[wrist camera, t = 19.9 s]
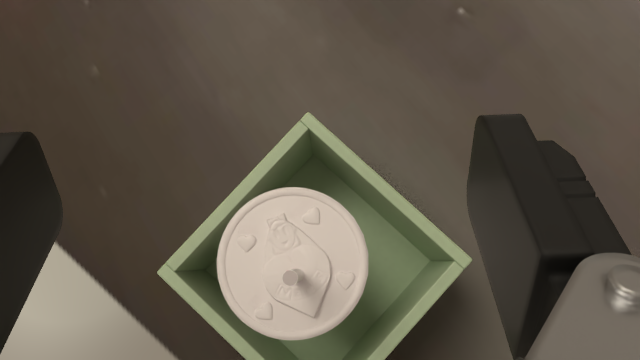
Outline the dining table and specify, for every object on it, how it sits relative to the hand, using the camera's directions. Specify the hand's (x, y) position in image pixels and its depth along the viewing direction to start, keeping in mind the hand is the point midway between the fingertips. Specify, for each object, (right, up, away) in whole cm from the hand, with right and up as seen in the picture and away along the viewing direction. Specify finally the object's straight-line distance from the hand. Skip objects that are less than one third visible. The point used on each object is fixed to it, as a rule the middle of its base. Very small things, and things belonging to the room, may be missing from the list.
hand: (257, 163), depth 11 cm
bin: (+1, -5, +24) cm, 25 cm away
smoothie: (0, -5, +24) cm, 24 cm away
